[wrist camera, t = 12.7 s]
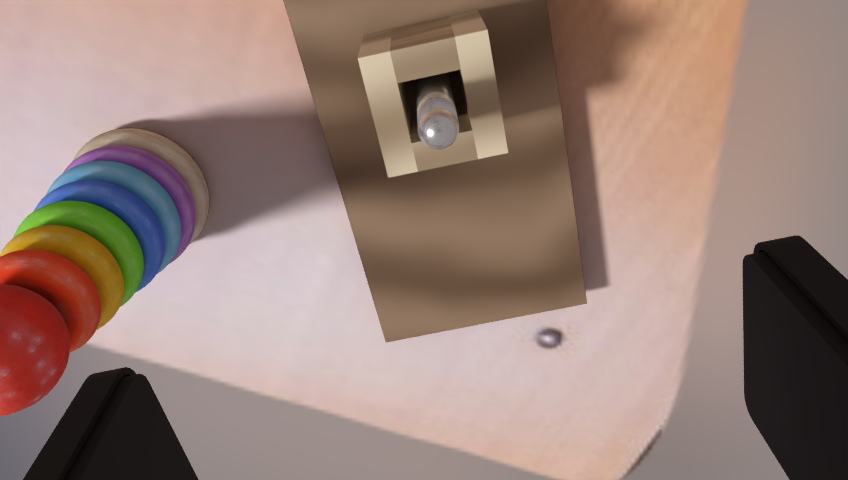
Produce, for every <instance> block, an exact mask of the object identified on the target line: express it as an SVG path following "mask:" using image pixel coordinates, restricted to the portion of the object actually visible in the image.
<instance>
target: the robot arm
mask: <svg viewBox="0 0 848 480" xmlns="http://www.w3.org/2000/svg"><path fill="white" fill-rule="evenodd" d="M743 331H744V394H745V402H746V406H747V409H748V412H749V414H750V416H751V418H752V420H753V422H754V423H755V425H756V427H757V428H758V430H759V431H760V433H761V435H762V436H763V438H764V439H765V441H766V443H767V444H768V446H769V447H770V449H771V451H772V452H773V454H774V455H775V457H776V458H777V460H778V462H779V463H780V465H781V467H782V468H783V470H784V471H785V473H786V475H787V476H788V478H789V479H790V480H848V280H847V279H846V278H845V277H844V276H843V275H842V274H841V273H839V271H838V270H837V269H835V268H834V267H833V266H832V265H831V264H830V263H829V262H828V261H827V260H826V259H825V258H824V257H823V256H821V255H820V254H819V253H818V252H817V251H816V250H815V249H814V248H813V247H812V246H811V245H810V244H809V243H808V242H806V241H805V240H804V239H803V238H802V237H800V236H790V237H786V238H780V239H775V240H770V241H765V242H760V243H758V244H756V245H755V248H754V253H753V254H750V255H746V256H745V257H744V259H743ZM23 480H198V478H197V476H196V474H195V472H194V470H193V468H192V467H191V464H190V462H189V460H188V458H187V456H186V454H185V452H184V451H183V449H182V446H181V444H180V442H179V441H178V438H177V437H176V435H175V433H174V431H173V429H172V427H171V425H170V423H169V421H168V419H167V417H166V415H165V413H164V411H163V409H162V407H161V405H160V403H159V401H158V399H157V397H156V395H155V393H154V391H153V389H152V387H151V385H150V383H149V381H148V380H147V378H146V377H145V376H144V375H142V374H136V373H135V372H134V371H133V370H132V369H130V368H127V367H125V368H120V369H115V370H109V371H104V372H100V373H95V374H92V375H90V376H89V377H88V378H87V379H86V380H85V382H84V383H83V385H82V386H81V388H80V390H79V391H78V393H77V394H76V396H75V398H74V399H73V401H72V402H71V404H70V406H69V407H68V409H67V410H66V412H65V414H64V415H63V417H62V418H61V420H60V421H59V423H58V425H57V426H56V428H55V429H54V431H53V433H52V434H51V436H50V437H49V439H48V441H47V442H46V444H45V445H44V447H43V449H42V450H41V452H40V453H39V455H38V457H37V458H36V460H35V461H34V463H33V464H32V466H31V468H30V469H29V471H28V472H27V474H26V476H25V477H24V479H23Z"/></svg>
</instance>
